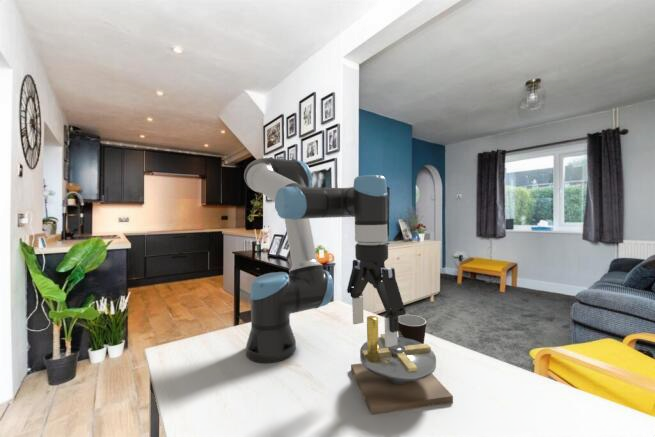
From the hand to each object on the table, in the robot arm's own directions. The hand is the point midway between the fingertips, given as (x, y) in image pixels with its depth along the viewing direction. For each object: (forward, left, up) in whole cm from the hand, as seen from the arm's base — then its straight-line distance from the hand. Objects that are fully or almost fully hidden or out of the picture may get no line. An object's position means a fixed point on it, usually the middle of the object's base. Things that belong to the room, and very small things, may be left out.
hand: (373, 333), depth 67 cm
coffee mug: (-17, +18, -15) cm, 29 cm away
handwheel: (-2, +7, -8) cm, 11 cm away
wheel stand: (-2, +7, -14) cm, 16 cm away
